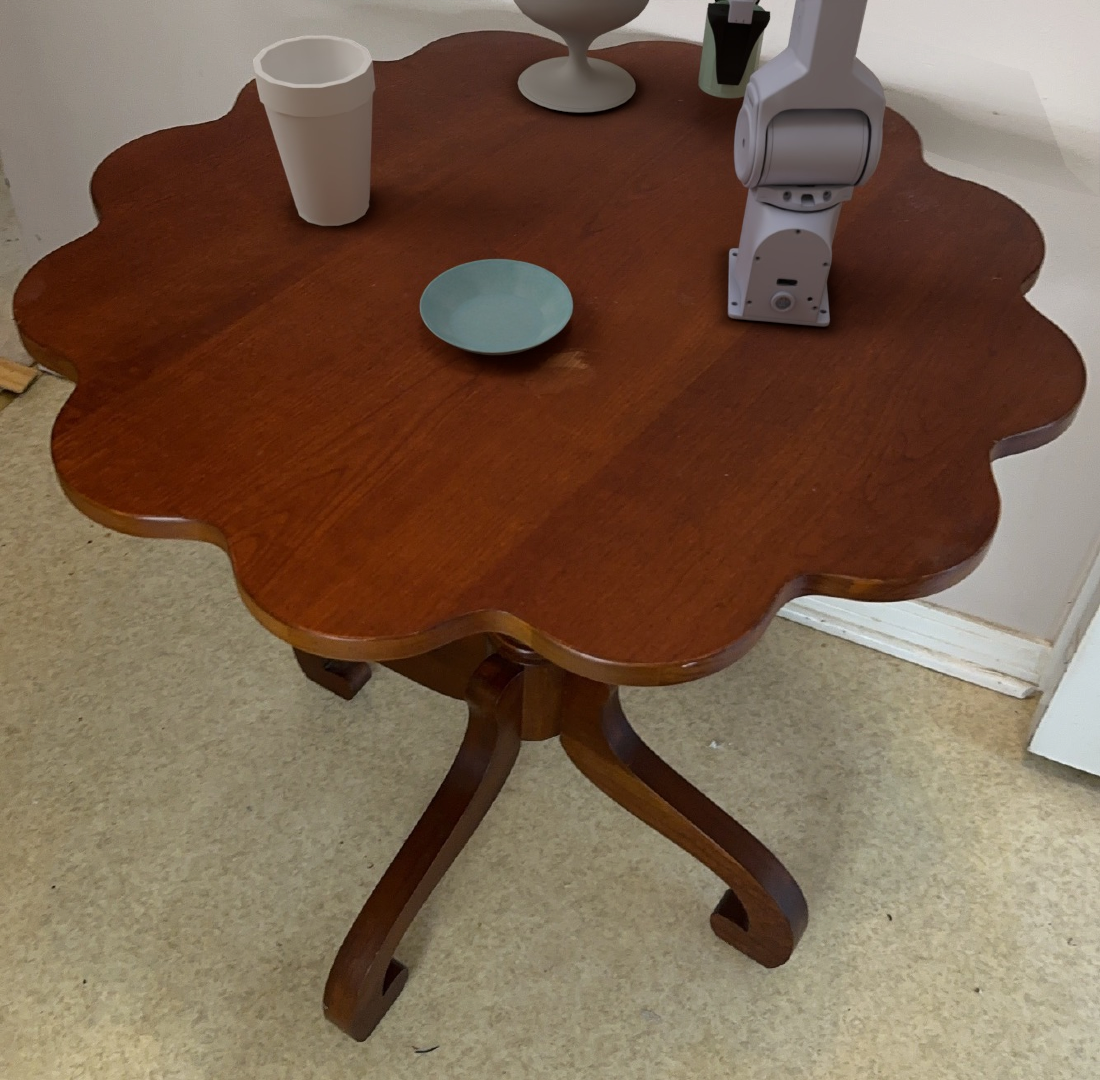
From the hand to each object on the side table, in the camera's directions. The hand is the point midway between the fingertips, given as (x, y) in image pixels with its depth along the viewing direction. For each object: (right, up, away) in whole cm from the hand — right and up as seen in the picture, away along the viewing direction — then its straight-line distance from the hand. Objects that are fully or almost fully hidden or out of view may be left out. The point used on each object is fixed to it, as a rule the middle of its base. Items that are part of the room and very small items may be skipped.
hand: (728, 69), depth 106 cm
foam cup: (-36, -16, -9) cm, 41 cm away
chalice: (-15, +1, +8) cm, 16 cm away
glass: (0, -1, +1) cm, 2 cm away
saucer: (-21, -29, -20) cm, 41 cm away
